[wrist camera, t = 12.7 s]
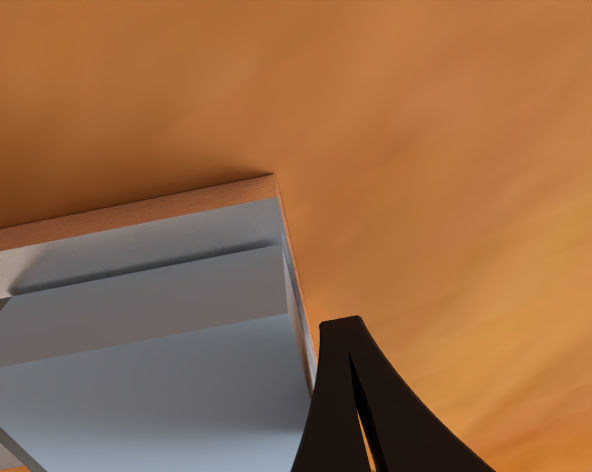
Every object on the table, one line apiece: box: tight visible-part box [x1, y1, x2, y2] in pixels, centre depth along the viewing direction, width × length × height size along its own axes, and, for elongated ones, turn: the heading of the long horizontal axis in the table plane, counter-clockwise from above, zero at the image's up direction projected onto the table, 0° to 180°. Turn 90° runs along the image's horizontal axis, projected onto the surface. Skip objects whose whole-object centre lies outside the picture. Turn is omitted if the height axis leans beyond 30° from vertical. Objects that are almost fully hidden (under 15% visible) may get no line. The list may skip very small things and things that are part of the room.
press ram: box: [0, 244, 315, 472], centre depth 12 cm, size 7×8×3 cm
